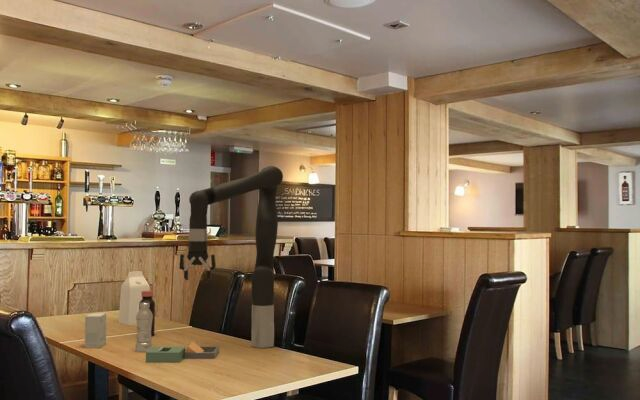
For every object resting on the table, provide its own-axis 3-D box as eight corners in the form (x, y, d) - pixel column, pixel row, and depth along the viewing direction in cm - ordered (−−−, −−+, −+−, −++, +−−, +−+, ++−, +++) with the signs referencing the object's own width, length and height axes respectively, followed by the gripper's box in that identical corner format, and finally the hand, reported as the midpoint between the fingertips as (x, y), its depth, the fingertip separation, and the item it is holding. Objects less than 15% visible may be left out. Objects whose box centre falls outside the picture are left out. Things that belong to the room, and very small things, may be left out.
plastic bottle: (137, 356, 232) (137, 304, 233) (133, 353, 238) (134, 302, 239) (154, 355, 235) (155, 303, 236) (150, 351, 241) (151, 301, 242)
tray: (219, 355, 235) (219, 346, 235) (214, 362, 223) (214, 353, 223) (190, 355, 235) (190, 346, 235) (184, 362, 223) (184, 353, 223)
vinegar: (156, 334, 277) (157, 290, 278) (150, 337, 270) (151, 292, 271) (142, 334, 278) (142, 290, 279) (136, 336, 271) (137, 291, 272)
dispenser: (185, 360, 227) (185, 345, 227) (179, 366, 217) (179, 351, 217) (152, 360, 227) (153, 345, 227) (145, 366, 217) (145, 351, 217)
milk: (140, 320, 316) (141, 270, 317) (150, 323, 308) (151, 271, 309) (118, 322, 308) (119, 271, 309) (128, 325, 300) (129, 272, 300)
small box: (90, 344, 255) (91, 313, 255) (106, 344, 255) (106, 313, 255) (84, 348, 247) (84, 316, 247) (99, 348, 247) (100, 316, 247)
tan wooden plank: (199, 355, 224) (204, 350, 233) (188, 346, 224) (192, 341, 233) (196, 359, 224) (200, 354, 233) (184, 350, 224) (189, 345, 233)
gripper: (217, 239, 250) (216, 279, 250) (182, 239, 250) (181, 279, 249) (214, 240, 243) (213, 281, 242) (178, 240, 242) (177, 280, 242)
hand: (197, 280), depth 246 cm, fingers open, 8 cm apart
